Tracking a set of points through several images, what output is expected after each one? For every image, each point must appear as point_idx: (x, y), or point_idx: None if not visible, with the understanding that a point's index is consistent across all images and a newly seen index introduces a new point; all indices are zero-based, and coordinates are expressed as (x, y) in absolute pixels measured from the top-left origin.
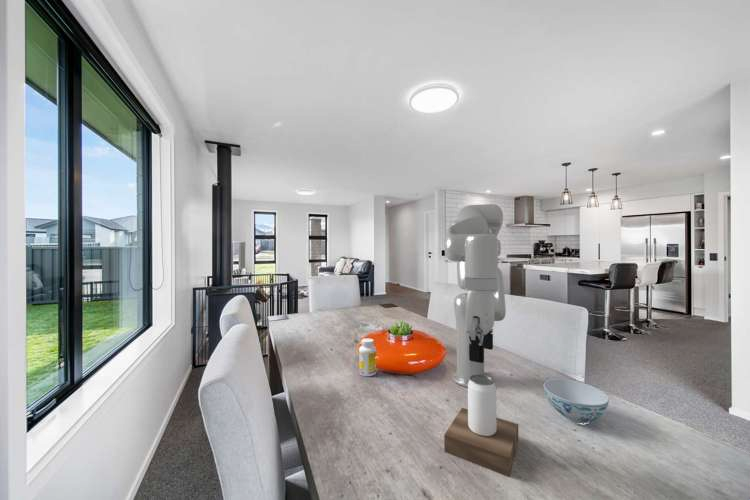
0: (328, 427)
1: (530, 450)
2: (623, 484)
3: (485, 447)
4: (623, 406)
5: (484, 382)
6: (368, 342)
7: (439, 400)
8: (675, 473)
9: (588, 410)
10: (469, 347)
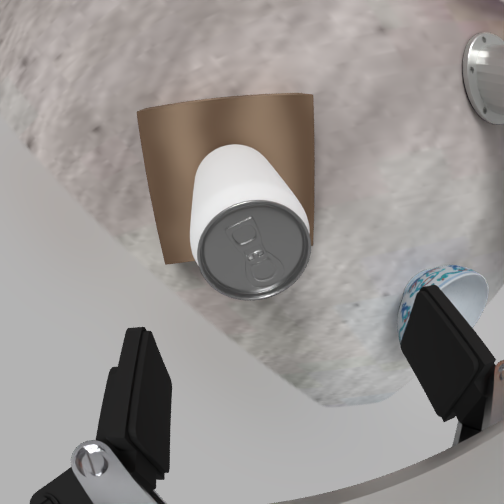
0: None
1: None
2: (273, 355)
3: (161, 215)
4: None
5: (243, 266)
6: None
7: (367, 9)
8: (330, 380)
9: (399, 340)
10: (112, 406)
